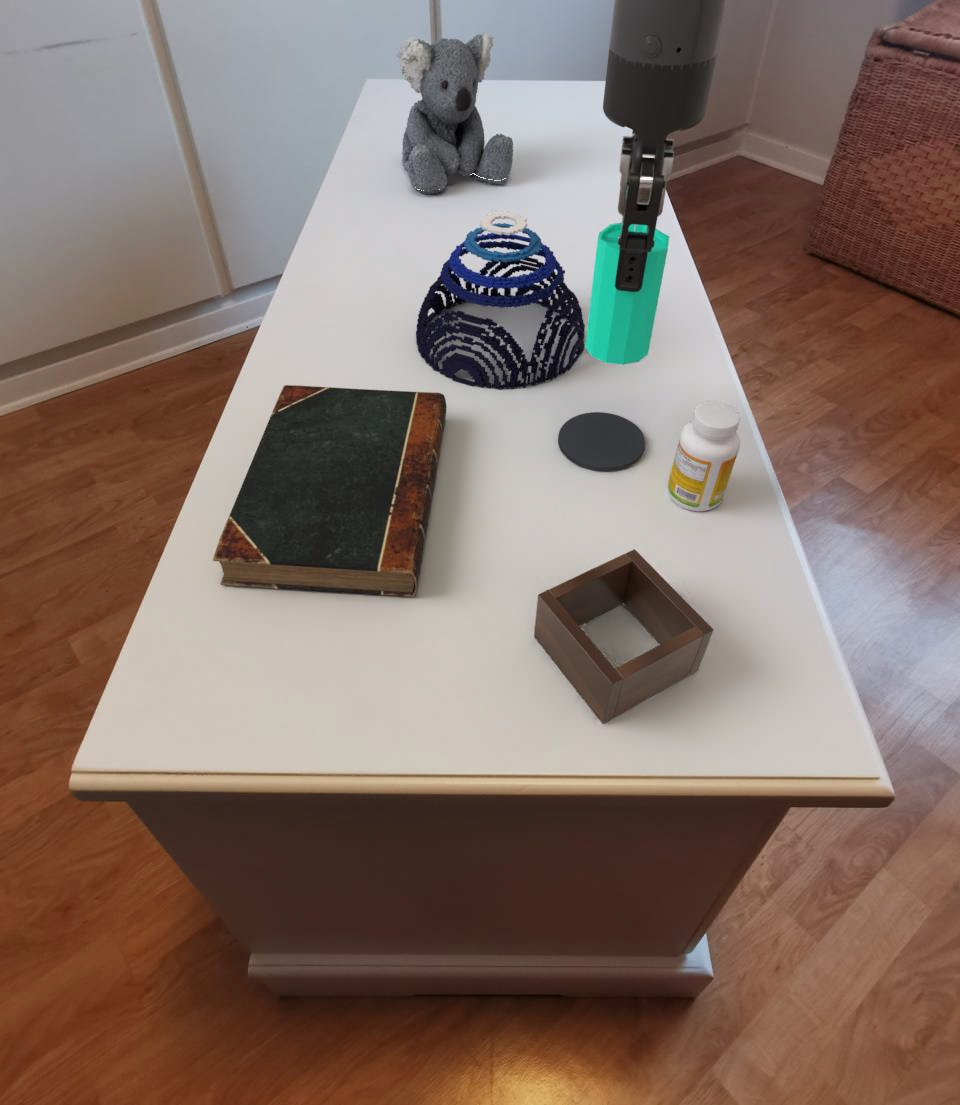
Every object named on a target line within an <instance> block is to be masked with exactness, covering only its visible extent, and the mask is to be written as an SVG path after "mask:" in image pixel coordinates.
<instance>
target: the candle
mask: <svg viewBox="0 0 960 1105" xmlns="http://www.w3.org/2000/svg"><path fill="white" fill-rule="evenodd" d="M621 228H622V222H617V223H611V224H609V225H608V226H606V227H605V228H603V229H602V230H600V231H599V233H598V236H597V242H596V243H597V244H596V250H595V260H594V269H593V277H592V285H591V295H590V302H589V311H588V319H587V328H586V335H585V336H586V337H585V343H584V349H585V350H586V351H587V353H588V354H590V356H591V357H592V358H594V359H596V360H599V361H601V362H603V363H605V364H610V365H611V364H612V365H621V366H625V365H629V364H634V363H639V362H640V361H642V360H643V359H644V358H645V357H647V356H648V355H649V350H650V346H651V339H652V335H653V330H654V324H655V319H656V314H657V308H658V302H659V297H660V292H661V289H662V288H661V287H662V282H663V278H664V271H665V266H666V261H667V256H668V251H669V243H670V235H668V234H666V233H664V232H662V231H661V230H659V229H658V228H655V234H654V239H653V240H654V241H655V242H654V248H653V247H652V250H651V252H648V254H647V260H646V266H645V272H644V277H643V283H642V288H641V290H640V291H638V292H630V291H619V290H617V289H616V288H615V280H616V273H617V266H618V259H619V252H620V250H619V245H618V237H619V236H621ZM646 229H647V225H637V224H632V225H630V226H629V229H628V231H630V232H643V233H646Z"/></svg>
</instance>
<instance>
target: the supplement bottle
mask: <svg viewBox="0 0 960 1105" xmlns="http://www.w3.org/2000/svg"><path fill="white" fill-rule="evenodd" d="M740 422H741V415H740V412H739V411H738V409H736V408H735V407H734V406H732V405H731V404H729V403H726V402H723V401H718V400H708V401H707V400H706V401H704V402H701V403H699V404H698V405H697V406H696V407H695V409H694V412H693V415H692V417H691V421H689V422H687V424H685V425H684V426H683V427H682V429H681V432H680V434H679V438H678V443H677V446H676V450H675V455H674V459H673V463H672V468H671V471H670V474H669V479H668V484H667V494H668V495H669V498H670V499H671V500H672V501H673V502H674V503H675V504H677V506H679V507H681V508H682V509H683V508H684V509H685V510H688V511H693V512H705V511H710V510H713V509H714V508H717V507H718V506H719V505H720V504H721V503H722V501H723V498H724V496H725V494H726V490H727V487H728V484H729V481H730V478H731V475H732V472H733V469H734V466H735V463H736V459H737V457H738V454H739V451H740V446H741V438H740V436H739V433H738V432H737V431H738V429H739V425H740Z"/></svg>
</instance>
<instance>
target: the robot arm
mask: <svg viewBox="0 0 960 1105" xmlns="http://www.w3.org/2000/svg"><path fill="white" fill-rule="evenodd" d="M613 3H614V4H613V10H612V19H611V27H610V28H611V30H610V36H609V37H610V38H609V47H608V56H607V57H608V58H607V65H606V73H605V76H606V77H605V82H604V83H605V84H604V92H603V99H602V100H603V101H602V109H603V113H604V115H605V117H606V118H607V119H608V120H609V121H610V122H611V123H613V124H615V125H617V126H619V127H621V128H625V127H627V128H628V129H630V130H632V131H631V136H630V135H629V136H628V135H623V136H622V144H621V150H620V159H619V160H620V161H619V167H618V168H619V171H618V172H619V173H620V182H619V183H620V184H619V194H618V202H617V212H618V214H619V215H620V216H622V219H621V223H622V228H621V236H619V237H618V245H619V250H620V252H619V259H618V266H617V273H616V280H615V288H616V289H617V290H619V291H630V292H638V291H640V290H641V288H642V283H643V277H644V272H645V266H646V260H647V254H648V252H651V250H652V247H653V248H654V242H655V241H654V240H653V239H654V234H655V228H656V227H657V223H658V218H659V217H660V216H661V215H662V214H663V211H664V205H665V204H664V203H665V197H666V192H667V184H668V178H669V177H670V176H671V174H672V172H673V166H674V160H675V151H674V147H675V146H674V145H675V138H667V137H668V135H670V134H673V133H674V132H678V131H681V132H683V131H687V130H690V129H692V128H694V127H696V126H698V125H699V124H700V123H701V122H702V121H703V119H704V118H705V116H706V112H707V108H708V103H709V98H710V92H711V88H712V83H713V77H714V72H715V66H716V62H717V57H718V51H719V47H720V43H721V42H720V41H721V38H722V31H723V27H724V22H725V17H726V11H727V4H728V0H614V2H613ZM632 224H637V225H647V229H646V233H643V232H630V231H628V229H629V226H630V225H632ZM656 229H657V228H656Z"/></svg>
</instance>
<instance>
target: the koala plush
mask: <svg viewBox="0 0 960 1105" xmlns="http://www.w3.org/2000/svg"><path fill="white" fill-rule="evenodd" d="M493 39H494V37H493V36H492V35H489V34H486V33H485V32H484V31H482V33H480V34H476V35H474V36H473V37H472V38H471V39H469V40H468V41H467V42H466V43H464V42H463V41H461V40H460V39H458V38H450V39H449V38H447V37H446V38H444V37H442V38H440V39H438V40H435V41H434V42H432V43H431V44H430V43H428V42H426V41H425V40H421V39H420V38H417V39H415V37H414V36H409V38H406V39H405V41H404V42H403V43H402V45H401V46H399V49H400V50H398V53H397V54H396V57H397V58H398V59H399V60H401V61H400V62H399V63H400V64H399V69H400V71H401V75H402V77H403V78H404V79H403V80H404V81H406V82H408V84H410V89H413V90H414V92H415V93H417V94H420V95H421V99H420V100H417V102H414V103H413V105H412V106H411V107H410V110H409V114H408V117H407V120H406V121H407V122H406V127H405V131H404V132H403V135H402V136H403V137H402V152H401V154H402V157H401V162H403V164H404V166H403V170H404V171H405V172H406V171H407V170H408V171H407V173H408V177H409V181H410V185H411V187H412V188H413V189H414V190H415V191H418V192H419V193H422V194H425V195H431V194H435V195H436V194H439V193H440V192H443V191H444V190H445V188H446V187H447V184H448V177H447V176H448V175H449V176H452V175H453V174H455V173H457V172H458V174H459V175H460V176H463V175H464V176H463V177H465V176H466V175H470V174H472V173H475V174H476V175H478V176H480V177H484V178H486V179H483V178H480V177H478V176H476V175H474V174H472V175H470V176H466V177H469V178H471V179H473V180H476V181H479V182H484V183H488V184H489V185H491V184H493V185H500V184H504V183H506V181H507V179H508V178H509V175H510V174H511V173H510V172H511V171H512V167H513V166H512V165H513V161H514V160H513V158H514V153H513V152H514V141H513V138H512V137H511V136H506V135H505V134H503V133H499V134H498V133H496V134H495V135H492V137H490V138H489V140H488V141H487V142H486V144H485V130H484V125H483V121H482V118H481V115H480V112H479V110H478V108H477V106H476V103H477V93H478V90H479V88H478V87H479V83H482V82H483V80H485V72H486V71H487V69H488V68H489V67H490V64H491V51H492V50H491V49H492V48H493V47H494V43H493V42H494V41H493ZM403 164H402V165H403ZM504 178H506V179H504ZM488 179H493V180H488ZM502 179H504V180H502ZM494 180H501V181H494ZM415 187H416V188H415ZM417 189H420V190H417ZM439 189H440V190H439ZM421 190H422V191H421ZM423 190H424V191H423Z"/></svg>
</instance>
